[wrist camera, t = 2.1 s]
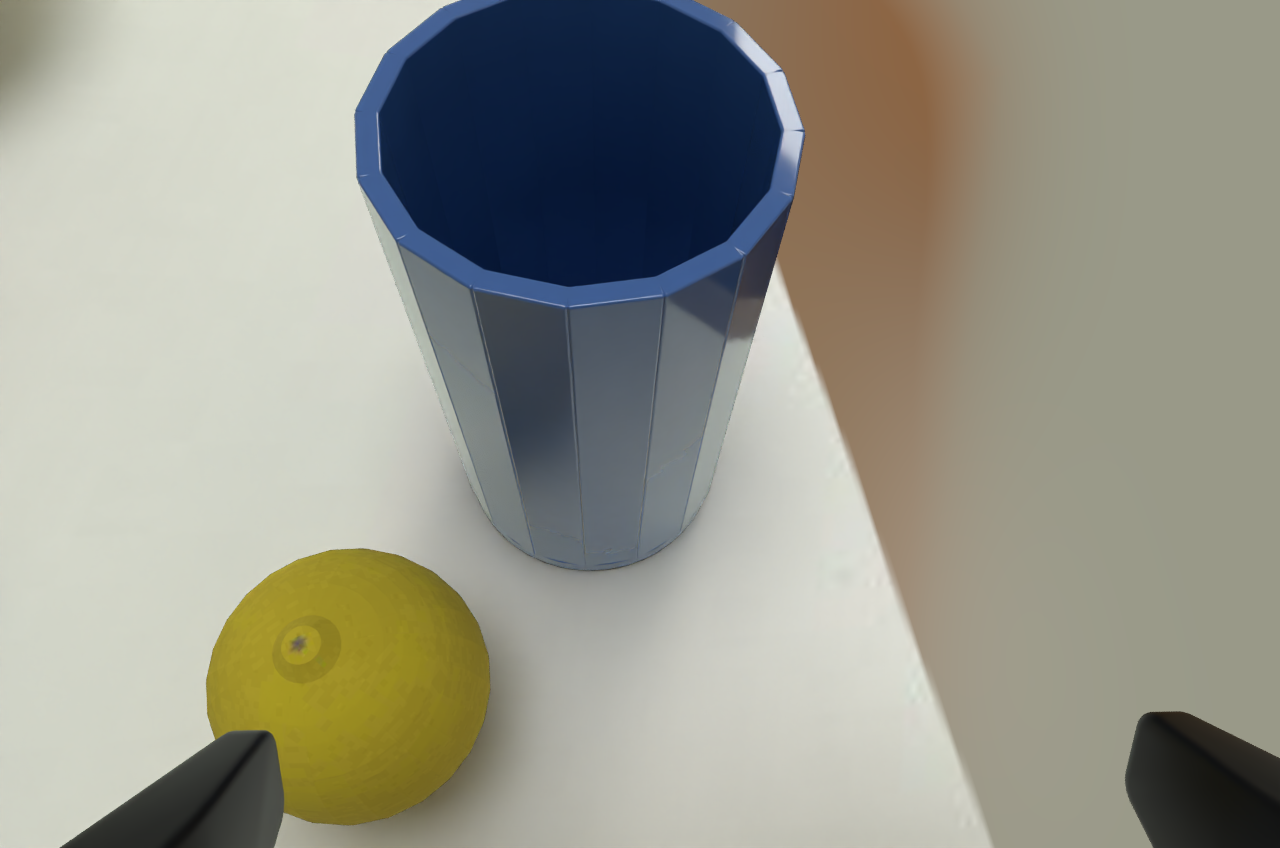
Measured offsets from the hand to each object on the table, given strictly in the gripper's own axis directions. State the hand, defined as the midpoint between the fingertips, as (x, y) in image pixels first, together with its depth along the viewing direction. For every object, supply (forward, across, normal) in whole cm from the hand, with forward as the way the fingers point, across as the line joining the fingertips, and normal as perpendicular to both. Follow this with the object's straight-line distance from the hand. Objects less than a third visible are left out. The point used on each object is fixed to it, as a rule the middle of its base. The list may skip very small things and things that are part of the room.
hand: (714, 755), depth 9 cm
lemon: (+12, +6, +8) cm, 16 cm away
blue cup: (+17, +2, +3) cm, 17 cm away
